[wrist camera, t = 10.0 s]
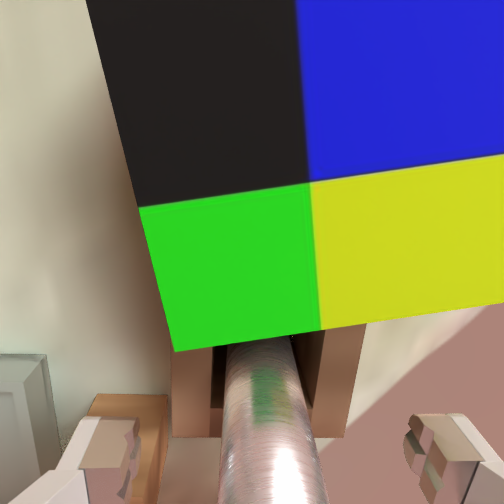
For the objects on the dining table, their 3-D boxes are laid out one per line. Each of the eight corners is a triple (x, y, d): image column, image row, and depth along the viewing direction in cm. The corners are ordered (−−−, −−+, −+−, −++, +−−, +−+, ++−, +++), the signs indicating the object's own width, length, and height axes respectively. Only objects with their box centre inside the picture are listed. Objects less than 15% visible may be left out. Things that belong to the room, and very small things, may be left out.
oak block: (97, 393, 20) (45, 497, 14) (167, 394, 20) (142, 496, 15) (102, 445, 21) (55, 559, 16) (167, 445, 22) (145, 557, 16)
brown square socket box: (186, 235, 17) (170, 275, 12) (336, 242, 18) (374, 283, 13) (186, 363, 20) (171, 437, 15) (316, 366, 20) (343, 437, 15)
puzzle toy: (406, -43, 14) (781, -411, 4) (403, 201, 17) (610, 286, 8) (160, -8, 14) (7, -310, 4) (205, 230, 17) (174, 352, 8)
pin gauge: (230, 284, 18) (214, 532, 7) (283, 286, 18) (355, 532, 7) (228, 331, 19) (211, 620, 8) (279, 332, 19) (336, 619, 8)
